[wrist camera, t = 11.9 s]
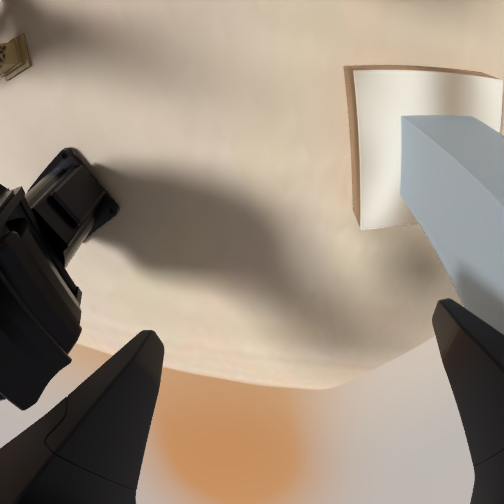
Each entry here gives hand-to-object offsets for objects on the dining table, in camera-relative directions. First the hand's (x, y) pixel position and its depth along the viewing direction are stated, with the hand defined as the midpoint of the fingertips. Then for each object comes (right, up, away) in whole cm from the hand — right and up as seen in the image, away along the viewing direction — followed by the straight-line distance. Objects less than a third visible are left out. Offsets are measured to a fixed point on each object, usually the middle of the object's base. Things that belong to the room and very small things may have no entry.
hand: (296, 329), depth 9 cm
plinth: (+10, +10, +8) cm, 16 cm away
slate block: (+10, +8, +6) cm, 14 cm away
